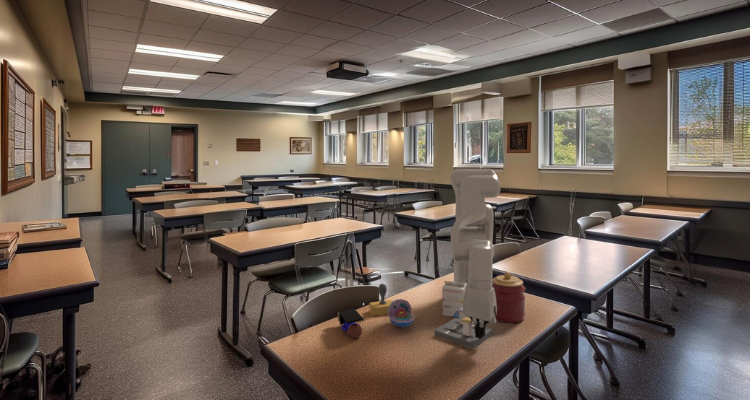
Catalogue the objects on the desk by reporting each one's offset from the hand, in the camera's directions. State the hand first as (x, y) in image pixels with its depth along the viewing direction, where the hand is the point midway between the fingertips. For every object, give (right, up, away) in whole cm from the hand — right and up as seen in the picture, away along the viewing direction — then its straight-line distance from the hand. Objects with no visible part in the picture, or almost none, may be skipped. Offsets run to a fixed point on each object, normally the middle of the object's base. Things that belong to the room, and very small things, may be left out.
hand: (479, 336), depth 127 cm
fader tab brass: (-3, 0, +3) cm, 5 cm away
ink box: (-2, -1, +28) cm, 28 cm away
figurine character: (-44, -3, +13) cm, 46 cm away
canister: (+17, -1, +23) cm, 29 cm away
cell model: (-25, -2, +17) cm, 30 cm away
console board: (-3, -2, +8) cm, 9 cm away
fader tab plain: (-3, +1, +12) cm, 12 cm away
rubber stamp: (-31, -1, +30) cm, 44 cm away
